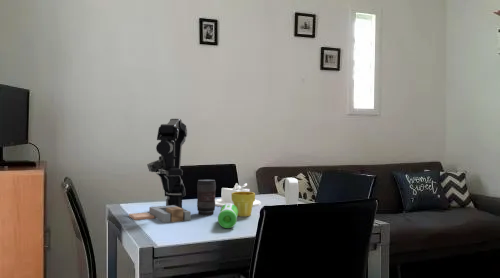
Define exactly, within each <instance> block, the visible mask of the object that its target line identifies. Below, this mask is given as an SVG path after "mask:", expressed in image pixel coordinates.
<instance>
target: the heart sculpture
mask: <svg viewBox="0 0 500 278" xmlns="http://www.w3.org/2000/svg"><path fill="white" fill-rule="evenodd" d="M299 184H300V183H299V181H298V179H297V178H295V177H285V181H284V199H285V206H286V205H289V204H297V205H298V203H299V197H300V196H299V194H300V193H299V192H300V191H299V189H300V186H299Z"/></svg>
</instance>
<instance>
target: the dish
mask: <svg viewBox="0 0 500 278" xmlns="http://www.w3.org/2000/svg"><path fill="white" fill-rule="evenodd" d="M246 186H248V183H247V182H246V183H244V184H243V185H239V183H237V182H236V183H235V185H234V187H233V188H228V187H222V188H221V197H220V198H215V207H219V206H220V208H222V206H223V205H225V204H227V203H231V204H233V201H232V193H233V192H251V191H250V190H251V189H250V188H244V187H246ZM260 205H262V202H261V201H260V200H258V199H255V201H254V202H253V207H252V208H254V207H259V206H260Z"/></svg>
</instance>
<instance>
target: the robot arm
mask: <svg viewBox="0 0 500 278" xmlns="http://www.w3.org/2000/svg"><path fill="white" fill-rule="evenodd" d="M156 137H157V138H156V140H157V141H159V142H158V143H157V144H156V146H155V148H156V149H155V150H156V152H157V153H158V154H159V156H158V160H154V161H151V162H150V163H147V165H146V166H147V169H148V171H149V172H151V173H155V174H156V175H157V176H158V177H159V179H160V181H161V184H162V189H163V190H164V197H166V199H165V206H170V205H175V206H177V207H180V208H182V209H184V207H183V197H185V196H186V188H185V185H184V183H183V179H182V178H181V176H183V174H184V173H183V172H184V171H183V169H182V168H181V160H182V147H183V145H184V144H185V142H186V139H187V137H188V128H187V125H186V124H185V123H184V122H183V121H182V119H180V118H170V120H169V121H168V123H163V124H160V126H159V127H158V131H157V136H156Z"/></svg>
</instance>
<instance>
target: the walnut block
mask: <svg viewBox="0 0 500 278" xmlns="http://www.w3.org/2000/svg"><path fill="white" fill-rule="evenodd" d="M182 208H183V207H182ZM182 208H180V207H167V208H166V212H168V213H171V215H170V222H169V223H177V222H183V221H184V220H183V209H184V208H183V209H182Z"/></svg>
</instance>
